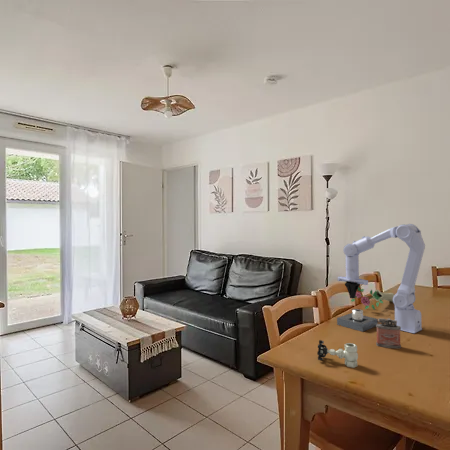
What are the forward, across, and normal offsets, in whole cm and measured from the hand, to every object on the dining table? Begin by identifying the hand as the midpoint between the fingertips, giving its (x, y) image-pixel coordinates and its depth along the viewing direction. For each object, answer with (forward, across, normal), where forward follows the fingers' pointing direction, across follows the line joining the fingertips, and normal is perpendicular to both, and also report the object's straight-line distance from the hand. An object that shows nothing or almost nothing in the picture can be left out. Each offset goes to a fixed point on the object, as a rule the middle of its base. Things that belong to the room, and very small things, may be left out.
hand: (352, 298), depth 153 cm
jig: (+9, +7, -8) cm, 14 cm away
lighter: (+10, +27, -21) cm, 36 cm away
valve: (+10, +24, -47) cm, 54 cm away
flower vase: (+10, -2, +27) cm, 29 cm away
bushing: (+9, +8, -9) cm, 15 cm away
